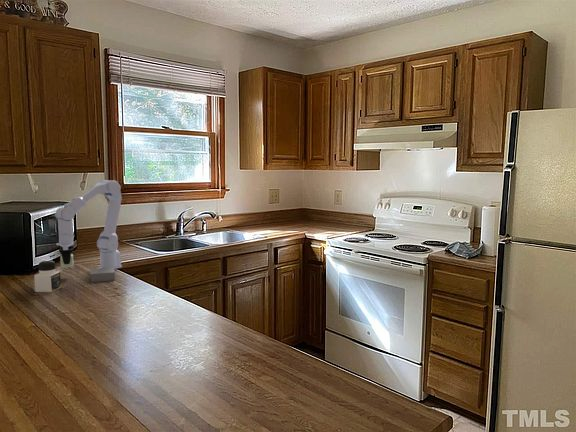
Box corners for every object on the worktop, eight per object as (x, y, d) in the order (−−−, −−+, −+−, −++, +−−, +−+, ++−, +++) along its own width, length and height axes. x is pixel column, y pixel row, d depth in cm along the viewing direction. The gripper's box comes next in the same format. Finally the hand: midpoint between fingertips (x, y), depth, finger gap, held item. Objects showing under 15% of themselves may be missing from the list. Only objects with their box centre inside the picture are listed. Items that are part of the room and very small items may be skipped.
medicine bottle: (52, 292, 180) (50, 263, 178) (34, 292, 180) (33, 263, 178) (61, 287, 187) (59, 259, 185) (44, 287, 187) (43, 259, 185)
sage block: (61, 265, 204) (60, 254, 203) (73, 264, 206) (72, 254, 205) (60, 267, 199) (60, 257, 199) (73, 266, 201) (72, 256, 201)
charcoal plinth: (91, 277, 205) (91, 268, 204) (114, 275, 208) (114, 267, 208) (90, 282, 196) (90, 274, 195) (114, 280, 199) (114, 272, 199)
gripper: (57, 231, 206) (58, 260, 207) (54, 236, 192) (56, 267, 194) (73, 230, 208) (75, 258, 210) (72, 235, 195) (74, 265, 197)
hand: (67, 262), depth 202 cm, fingers closed on sage block, 5 cm apart
